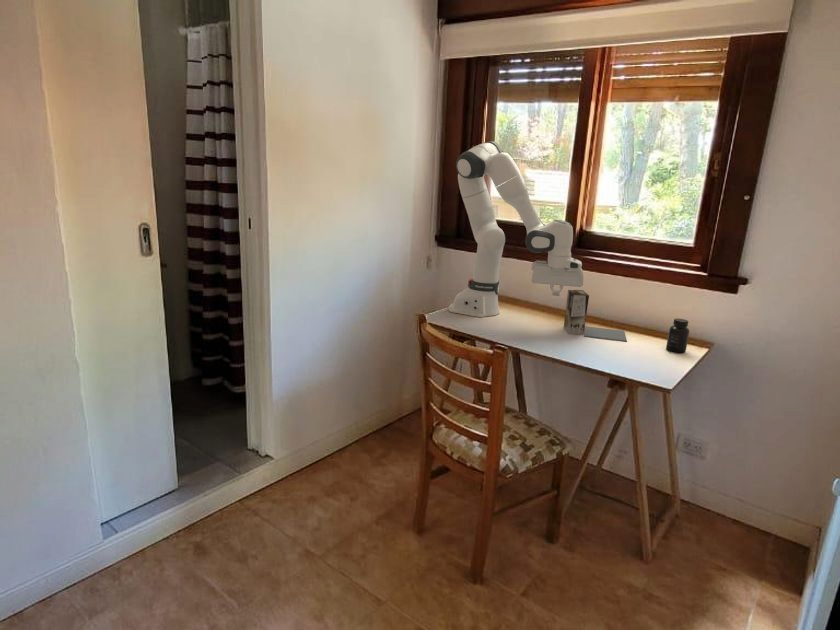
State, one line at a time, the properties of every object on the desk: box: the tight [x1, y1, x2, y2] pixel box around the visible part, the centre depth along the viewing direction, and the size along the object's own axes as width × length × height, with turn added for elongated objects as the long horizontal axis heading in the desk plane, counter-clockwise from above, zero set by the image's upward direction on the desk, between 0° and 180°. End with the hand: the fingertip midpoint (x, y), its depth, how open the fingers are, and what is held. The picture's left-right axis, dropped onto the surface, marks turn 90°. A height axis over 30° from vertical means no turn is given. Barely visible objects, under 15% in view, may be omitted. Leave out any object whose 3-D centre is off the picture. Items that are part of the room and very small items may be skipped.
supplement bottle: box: [665, 318, 690, 355], centre depth 203 cm, size 7×7×12 cm
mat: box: [583, 325, 628, 343], centre depth 220 cm, size 16×13×1 cm
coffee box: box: [563, 289, 590, 335], centre depth 221 cm, size 9×6×16 cm
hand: (555, 295), depth 221 cm, fingers closed
